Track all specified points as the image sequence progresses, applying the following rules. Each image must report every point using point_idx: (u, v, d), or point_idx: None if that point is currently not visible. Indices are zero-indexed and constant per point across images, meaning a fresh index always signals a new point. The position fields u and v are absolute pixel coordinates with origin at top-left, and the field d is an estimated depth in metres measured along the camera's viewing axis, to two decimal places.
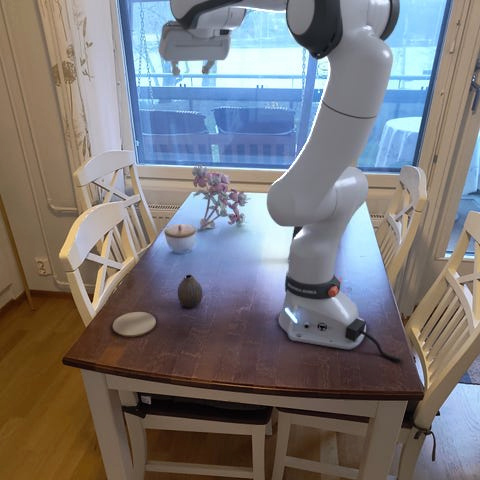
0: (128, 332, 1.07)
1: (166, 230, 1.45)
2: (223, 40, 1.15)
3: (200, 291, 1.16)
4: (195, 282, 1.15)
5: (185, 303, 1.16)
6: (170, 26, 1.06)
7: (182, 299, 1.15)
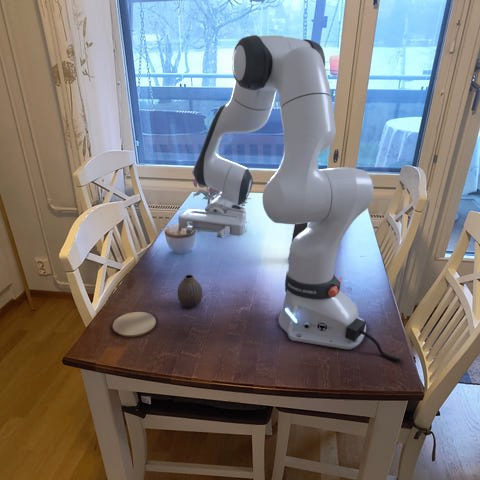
0: (128, 332, 1.07)
1: (166, 230, 1.45)
2: (237, 215, 1.26)
3: (200, 291, 1.16)
4: (195, 282, 1.15)
5: (185, 303, 1.16)
6: None
7: (182, 299, 1.15)
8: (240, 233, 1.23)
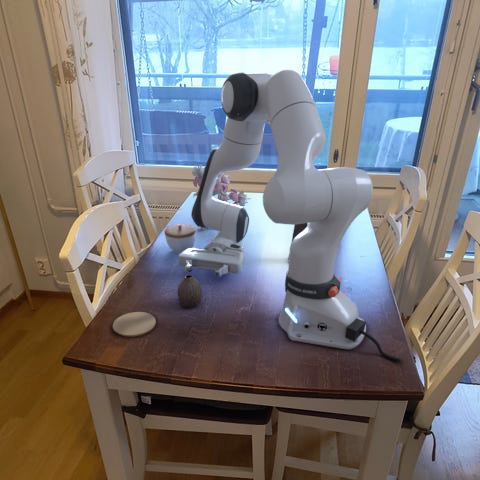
0: (128, 332, 1.07)
1: (166, 230, 1.45)
2: (235, 254, 1.30)
3: (200, 291, 1.16)
4: (195, 282, 1.15)
5: (185, 303, 1.16)
6: None
7: (182, 299, 1.15)
8: (238, 271, 1.26)
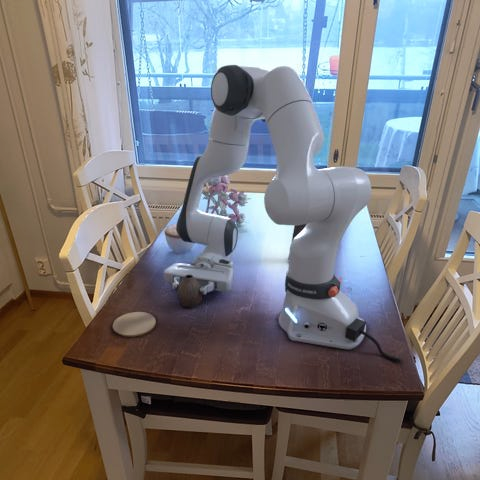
0: (128, 332, 1.07)
1: (166, 230, 1.45)
2: (224, 271, 1.21)
3: None
4: (195, 282, 1.15)
5: (185, 303, 1.16)
6: None
7: (182, 299, 1.15)
8: (227, 289, 1.18)
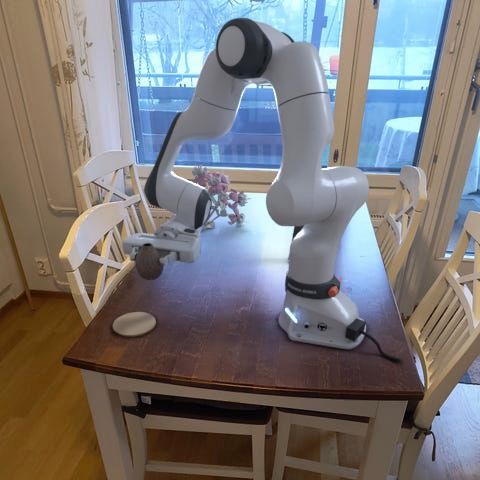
0: (128, 332, 1.07)
1: None
2: (189, 240, 1.09)
3: None
4: (154, 251, 1.03)
5: (143, 275, 1.04)
6: None
7: (140, 270, 1.03)
8: (191, 260, 1.06)
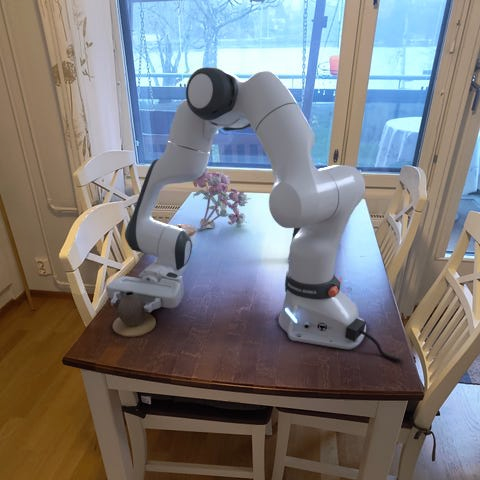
0: (128, 332, 1.07)
1: None
2: (172, 285, 1.12)
3: (142, 309, 1.07)
4: (136, 299, 1.06)
5: (126, 322, 1.07)
6: None
7: (122, 318, 1.06)
8: (173, 306, 1.09)
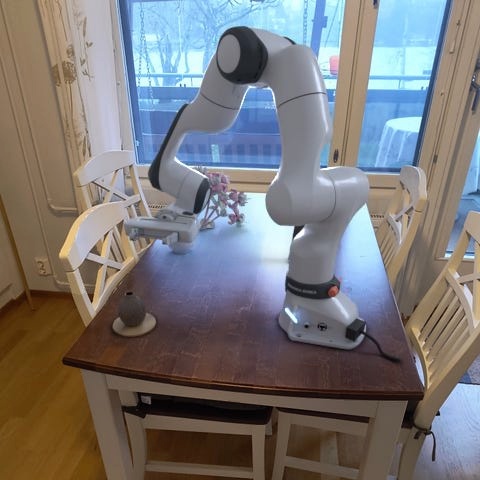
0: (128, 332, 1.07)
1: None
2: (188, 222, 1.15)
3: (142, 309, 1.07)
4: (136, 299, 1.06)
5: (126, 322, 1.07)
6: None
7: (122, 318, 1.06)
8: (189, 240, 1.12)
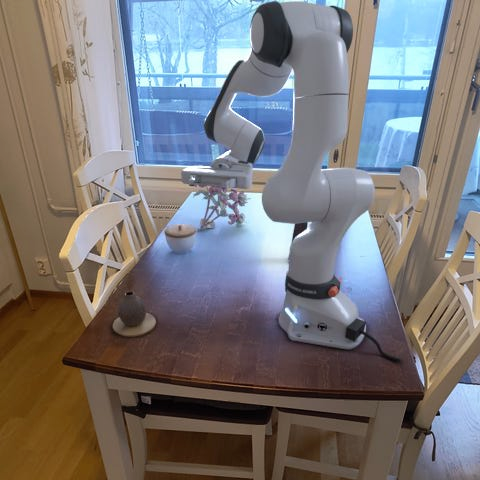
0: (128, 332, 1.07)
1: (166, 230, 1.45)
2: (244, 170, 1.18)
3: (142, 309, 1.07)
4: (136, 299, 1.06)
5: (126, 322, 1.07)
6: None
7: (122, 318, 1.06)
8: (246, 186, 1.15)
